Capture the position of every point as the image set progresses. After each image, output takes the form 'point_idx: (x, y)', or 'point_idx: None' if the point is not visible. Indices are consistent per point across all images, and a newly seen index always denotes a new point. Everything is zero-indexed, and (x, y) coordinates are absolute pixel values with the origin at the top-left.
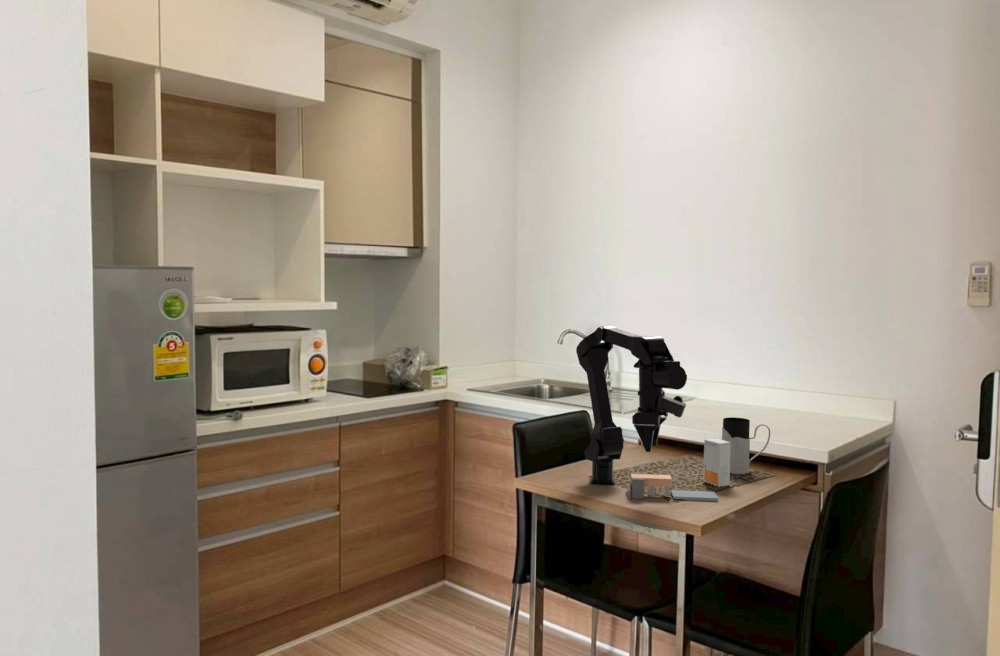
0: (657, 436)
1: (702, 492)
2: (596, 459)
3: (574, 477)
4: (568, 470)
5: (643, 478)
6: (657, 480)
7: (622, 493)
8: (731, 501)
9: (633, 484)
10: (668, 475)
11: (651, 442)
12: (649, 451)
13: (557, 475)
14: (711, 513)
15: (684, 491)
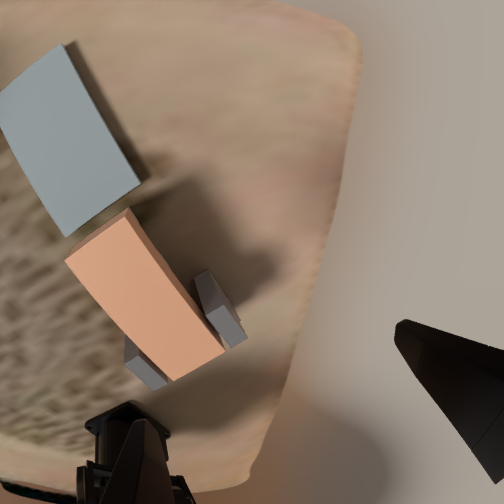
0: (140, 477)
1: (18, 127)
2: (182, 481)
3: None
4: None
5: (207, 316)
6: (164, 269)
7: None
8: (42, 18)
9: (239, 323)
10: (73, 263)
11: (466, 339)
12: (405, 323)
13: None
14: (234, 10)
15: (46, 188)
